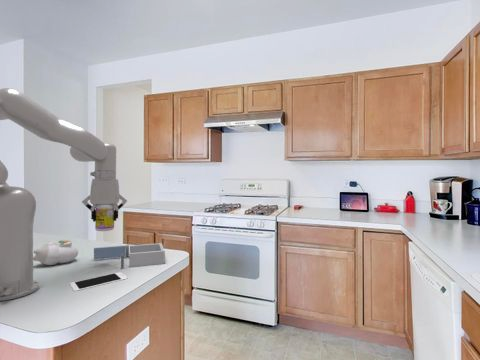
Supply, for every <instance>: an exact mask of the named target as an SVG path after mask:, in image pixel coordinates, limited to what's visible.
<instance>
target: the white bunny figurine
mask: <svg viewBox="0 0 480 360" xmlns="http://www.w3.org/2000/svg"><path fill="white" fill-rule="evenodd" d="M33 254H35V255H33V262H34V261H36V262H40V263H41V264H43V265H47V266H54V265H57V264H66V263H69V262H72V261H74V260H75V259H76V258H77V256H78V255H79V250H78V248H77V247H76V246H74V245H72V241H71V240H69V239H63V240H59V241H58V244H57V243H56V242H54V241H49V242H47V243H46V244H44V245H43V246H42V247H40V248H38V249H35V250H33Z"/></svg>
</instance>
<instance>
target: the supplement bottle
mask: <svg viewBox="0 0 480 360" xmlns="http://www.w3.org/2000/svg"><path fill="white" fill-rule="evenodd" d="M95 210H96V221H95V222H94V223H95V225H94V226H95V227H94V228H95V231H97V232H109V231H113V230H114V229H115V221H114V210H115V208H114V206H113V204H111V205H97V206H96V208H95Z"/></svg>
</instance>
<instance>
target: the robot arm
mask: <svg viewBox="0 0 480 360" xmlns="http://www.w3.org/2000/svg"><path fill="white" fill-rule="evenodd" d="M6 120H9V121H11V122H12V123H15V124H17V125H18V126H20V127H21V128H23V129H25V130H27V131H28V132H31V134H33V135H35V136H36V137H38V138H40V139H44V140H45V141H46V140H47V141H49V142H53V143H54V142H55V143H59V144H63V145H66V146H67V147H70V149H69V154H70V156H71V157H72V159H74V160H75V161H78V162H83V163H84V162H85V163H87V162H88V163H89V162H94V171H91V172H90V177H92V176H93V177H94V178H92V180H91V184H90V191H89V193H90V194H89V195H88V196H87V197H86V198H84V199H83V200H82V201H81V203H82V204H83V205H84V206H85V207H86V208H87V209H88V210H90V212H91V216H90V217H91V220H92V222H93V223H95V221H96V206H97V205H111V204H113V206H114V222H115V221H116V222H117V219H119V211H120V210H121V208H122V207H124V205H125V204H126V203H127V202H128V200H127V199H126V198H125V197H123V195H121V194H120V185H119V179H118V178H117V147H116V145H115V144H111V143H104V142H103V141H102V140H101V139H100V138H98V137H97V136H95V135H94V134H93V133H91V132H90V131H88V130H86V129H85V128H82V127H80V126H79V125H76V124H73V123H71V122H69V121H67V120H64V119H62V118H60V117H59V116H57V115H55V114H54V113H52V112H51V111H49V110H48V109H46V108H45V107H43V106H41V105H40V104H39V103H38V102H36V101H35V100H33V99H31V98H30V97H28V96H27V95H25V94H24V93H23V92H21V91H19V90H18V89H15V88H10V87H5V88H0V121H6ZM8 177H9V171H8V169H7V167H6V165H5V164H4V163H3V162H2V161H1V160H0V302H1V301H2V302H3V301H9V300H13V299H18V298H22V297H24V296H25V297H26V296H27V295H30V294H33V293H35V292H36V291H37V290H39V288H40V282H39V281H37V280H34V260H33V257H34V221H35V215H36V214H35V213H36V209H37V201H36V198H35V196H34V195H33V193H32V192H31V191H29V190H28V189H26V188H25V187H24V188H23V187H20V186H9V184H8V183H7V180H8ZM120 200H121V202H120ZM88 201H89V202H88ZM119 202H120V203H119ZM118 204H119V205H118Z"/></svg>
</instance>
